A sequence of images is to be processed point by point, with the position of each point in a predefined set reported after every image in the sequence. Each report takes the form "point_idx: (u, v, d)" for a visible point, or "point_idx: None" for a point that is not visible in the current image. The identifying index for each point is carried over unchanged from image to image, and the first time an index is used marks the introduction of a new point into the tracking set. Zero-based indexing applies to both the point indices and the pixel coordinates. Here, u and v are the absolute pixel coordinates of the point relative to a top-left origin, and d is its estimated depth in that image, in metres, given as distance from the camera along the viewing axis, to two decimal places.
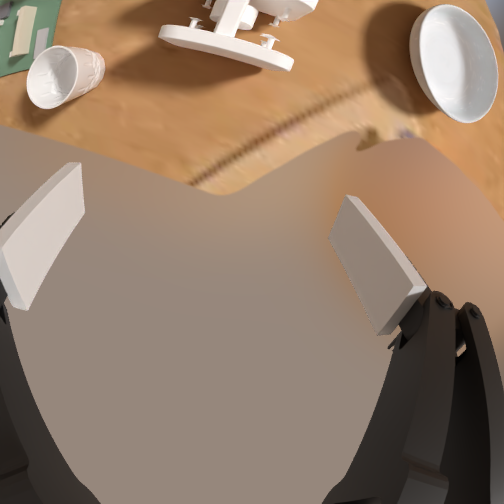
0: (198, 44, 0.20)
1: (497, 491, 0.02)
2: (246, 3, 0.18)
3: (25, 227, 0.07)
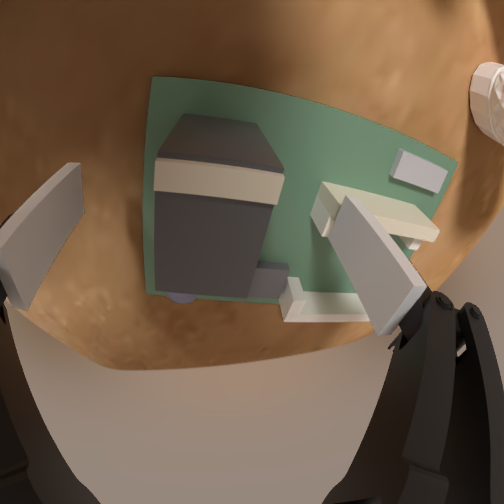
0: None
1: (497, 492, 0.02)
2: None
3: (25, 227, 0.07)
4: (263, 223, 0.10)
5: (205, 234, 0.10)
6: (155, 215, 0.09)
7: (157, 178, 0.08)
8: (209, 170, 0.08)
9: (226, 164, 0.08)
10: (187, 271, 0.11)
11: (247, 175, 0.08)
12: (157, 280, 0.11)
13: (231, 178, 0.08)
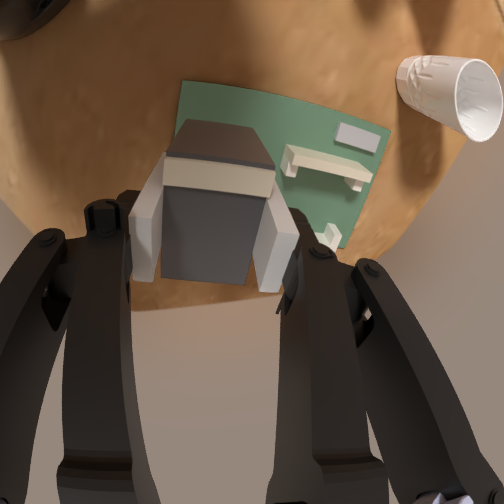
0: None
1: (467, 471, 0.03)
2: None
3: (159, 203, 0.09)
4: (258, 214, 0.11)
5: (207, 224, 0.11)
6: (163, 207, 0.10)
7: (166, 174, 0.09)
8: (210, 167, 0.09)
9: (225, 162, 0.10)
10: (190, 259, 0.12)
11: (243, 171, 0.10)
12: (163, 267, 0.12)
13: (229, 174, 0.10)
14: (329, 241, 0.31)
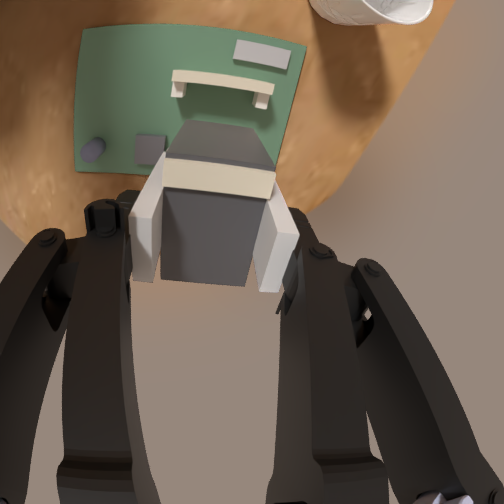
0: None
1: (467, 471, 0.03)
2: None
3: (159, 203, 0.09)
4: (258, 216, 0.11)
5: (206, 225, 0.11)
6: (162, 208, 0.10)
7: (165, 175, 0.09)
8: (210, 168, 0.09)
9: (225, 163, 0.10)
10: (190, 260, 0.12)
11: (243, 173, 0.10)
12: (162, 269, 0.12)
13: (229, 175, 0.10)
14: None
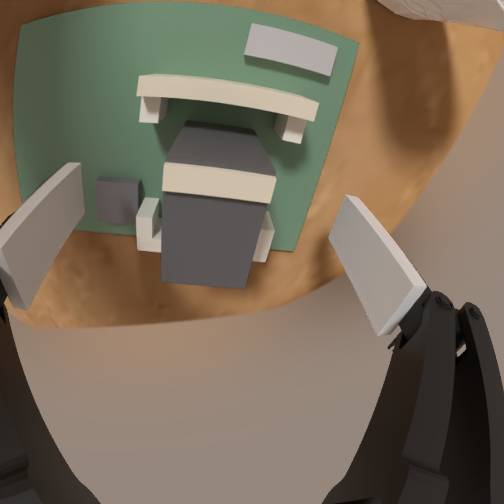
0: None
1: (497, 491, 0.02)
2: None
3: (25, 227, 0.07)
4: (258, 220, 0.11)
5: (207, 229, 0.11)
6: (163, 212, 0.10)
7: (165, 180, 0.09)
8: (210, 173, 0.09)
9: (226, 167, 0.10)
10: (190, 263, 0.12)
11: (243, 177, 0.10)
12: (163, 272, 0.12)
13: (230, 180, 0.10)
14: None
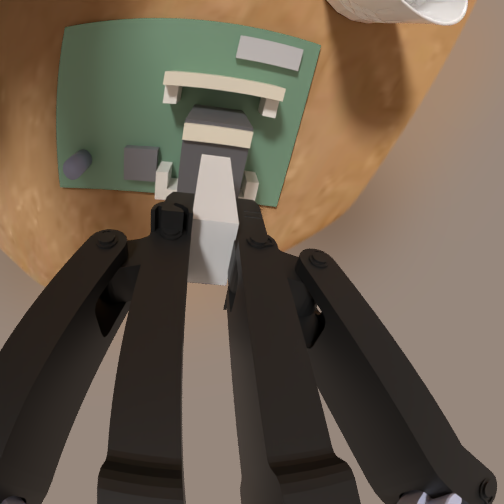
0: None
1: (449, 469, 0.03)
2: None
3: None
4: (242, 160, 0.16)
5: None
6: (181, 155, 0.16)
7: (184, 132, 0.14)
8: (212, 128, 0.15)
9: (222, 126, 0.15)
10: None
11: (232, 131, 0.15)
12: None
13: (224, 133, 0.15)
14: (243, 192, 0.23)
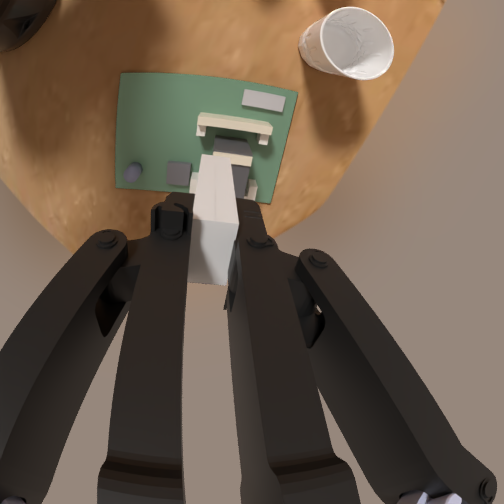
0: None
1: (450, 469, 0.03)
2: None
3: None
4: (246, 173, 0.28)
5: None
6: None
7: None
8: (229, 155, 0.27)
9: (234, 153, 0.27)
10: None
11: (241, 157, 0.27)
12: None
13: (236, 157, 0.27)
14: (247, 193, 0.35)
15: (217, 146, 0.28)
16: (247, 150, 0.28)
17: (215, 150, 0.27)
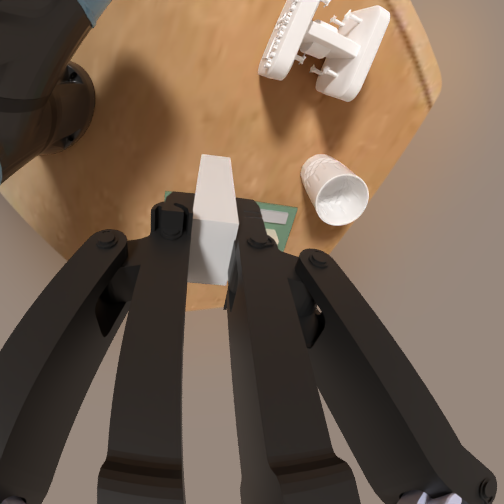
0: None
1: (450, 469, 0.03)
2: (326, 27, 0.21)
3: None
4: None
5: None
6: None
7: None
8: None
9: None
10: None
11: None
12: None
13: None
14: None
15: None
16: None
17: None
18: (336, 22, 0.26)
